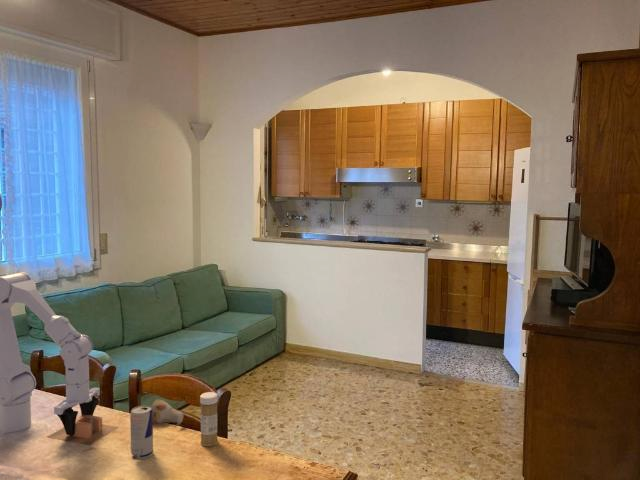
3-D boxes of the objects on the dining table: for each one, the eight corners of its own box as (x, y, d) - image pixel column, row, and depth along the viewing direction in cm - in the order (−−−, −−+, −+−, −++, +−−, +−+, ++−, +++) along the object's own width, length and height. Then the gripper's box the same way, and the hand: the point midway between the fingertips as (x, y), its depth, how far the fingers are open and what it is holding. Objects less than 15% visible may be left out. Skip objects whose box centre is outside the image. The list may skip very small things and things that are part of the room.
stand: (46, 442, 135) (46, 422, 135) (77, 425, 146) (76, 406, 145) (89, 450, 131) (89, 430, 131) (118, 432, 142) (118, 413, 141)
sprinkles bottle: (215, 438, 139) (215, 390, 138) (219, 445, 135) (219, 396, 134) (198, 440, 138) (198, 392, 136) (201, 448, 133) (201, 398, 132)
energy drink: (157, 451, 131) (157, 406, 130) (143, 461, 126) (143, 415, 125) (140, 448, 133) (139, 403, 132) (126, 458, 128) (125, 411, 127)
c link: (69, 435, 136) (69, 422, 136) (84, 426, 142) (84, 414, 141) (88, 438, 135) (87, 425, 134) (102, 429, 140) (102, 417, 140)
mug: (182, 431, 144) (163, 403, 142) (155, 441, 146) (136, 414, 144) (191, 414, 151) (173, 387, 149) (165, 424, 153) (147, 398, 151)
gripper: (69, 392, 130) (70, 444, 131) (108, 374, 143) (109, 420, 145) (47, 389, 132) (48, 439, 133) (87, 371, 146) (88, 417, 147)
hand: (78, 429), depth 139 cm, fingers closed on c link, 5 cm apart
